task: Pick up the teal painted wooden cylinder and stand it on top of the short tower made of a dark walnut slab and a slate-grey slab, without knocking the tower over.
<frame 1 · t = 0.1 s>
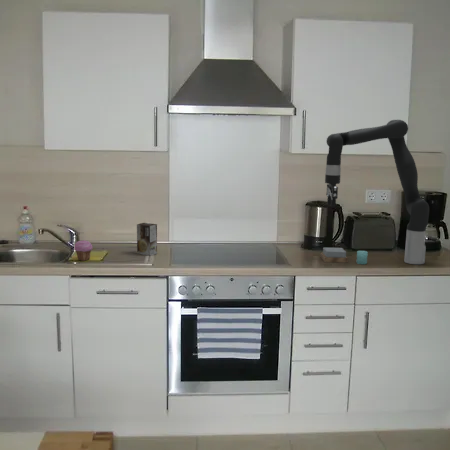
hand: (331, 205, 277), 29 cm above the countertop, tool pointing down, fingers open, 8 cm apart
bottom block: (333, 260, 286), on the countertop, touching top block
cupcake: (83, 260, 274), on the countertop
top block: (334, 255, 285), point 2 cm above the countertop, touching bottom block
teal cylinder: (361, 263, 279), on the countertop
coffee box: (147, 254, 290), on the countertop
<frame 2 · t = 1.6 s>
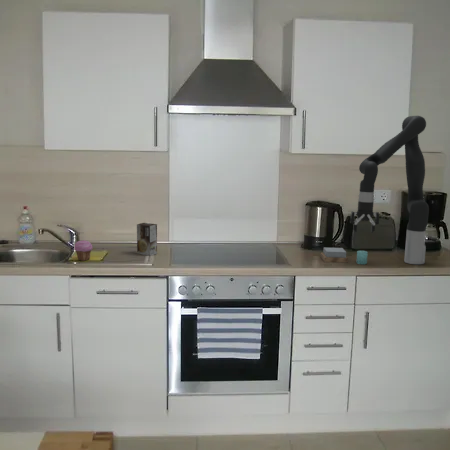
hand: (363, 232, 277), 16 cm above the countertop, tool pointing down, fingers open, 8 cm apart
bottom block: (333, 260, 286), on the countertop
top block: (334, 255, 285), point 2 cm above the countertop
everything else where it was.
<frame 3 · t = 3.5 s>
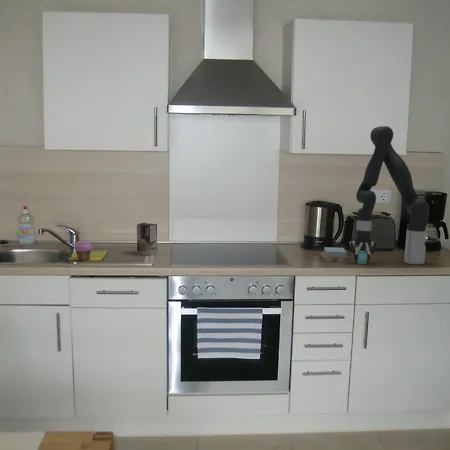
hand: (361, 261, 279), 1 cm above the countertop, tool pointing down, fingers closed on teal cylinder, 5 cm apart
bottom block: (333, 260, 286), on the countertop, touching top block
top block: (334, 255, 285), point 2 cm above the countertop, touching bottom block
teal cylinder: (361, 263, 279), on the countertop, touching gripper
everything else where it was.
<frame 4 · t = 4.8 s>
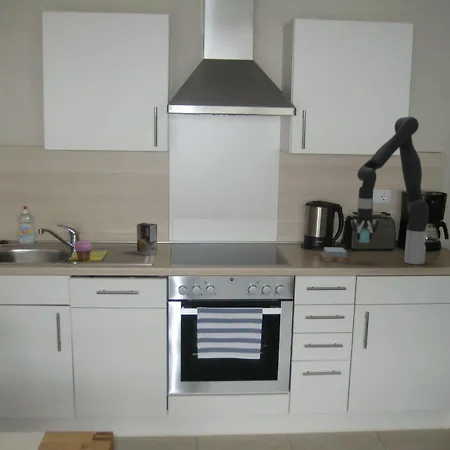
hand: (363, 239, 277), 12 cm above the countertop, tool pointing down, fingers closed on teal cylinder, 5 cm apart
bottom block: (333, 260, 286), on the countertop
top block: (334, 255, 285), point 2 cm above the countertop
teal cylinder: (363, 241, 277), point 11 cm above the countertop, touching gripper
everything else where it was.
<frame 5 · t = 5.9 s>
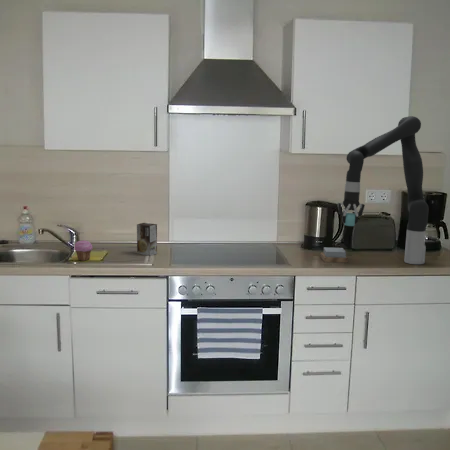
hand: (349, 223, 279), 20 cm above the countertop, tool pointing down, fingers closed on teal cylinder, 5 cm apart
bottom block: (333, 260, 286), on the countertop, touching top block
top block: (334, 255, 286), point 2 cm above the countertop, touching bottom block
teal cylinder: (349, 225, 279), point 19 cm above the countertop, touching gripper
everything else where it was.
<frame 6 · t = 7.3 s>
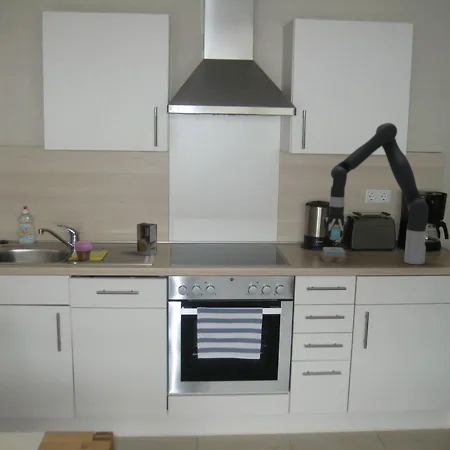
hand: (334, 237, 284), 12 cm above the countertop, tool pointing down, fingers closed on teal cylinder, 5 cm apart
teal cylinder: (334, 239, 284), point 11 cm above the countertop, touching gripper
everything else where it was.
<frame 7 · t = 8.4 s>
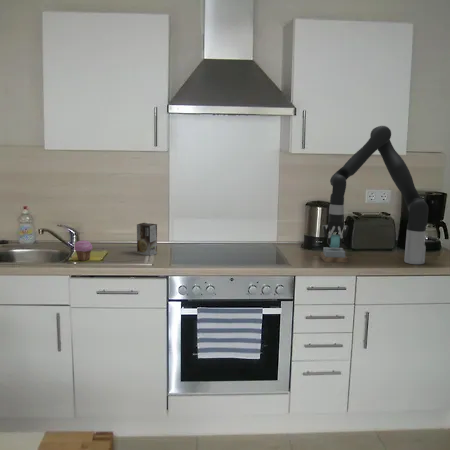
hand: (334, 244, 285), 8 cm above the countertop, tool pointing down, fingers closed on teal cylinder, 5 cm apart
teal cylinder: (334, 246, 285), point 7 cm above the countertop, touching gripper
everything else where it was.
when the fingers open (8 cm above the countertop, at t = 8.6 s): teal cylinder drops 1 cm, resting on top block.
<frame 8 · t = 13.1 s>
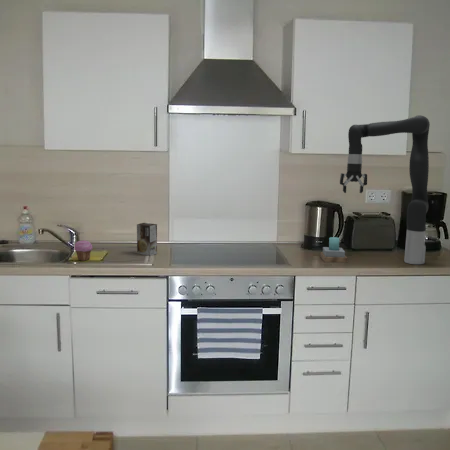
hand: (352, 192, 292), 34 cm above the countertop, tool pointing down, fingers open, 8 cm apart
top block: (333, 254, 286), point 2 cm above the countertop, touching bottom block, teal cylinder
teal cylinder: (333, 249, 285), point 5 cm above the countertop, touching top block
everything else where it was.
at the end: teal cylinder 0.1 cm off-centre on the top block, point 3.0 cm above the top block's base; teal cylinder tilted 0°; top block 0.1 cm off-centre on the bottom block, point 3.0 cm above the bottom block's base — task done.
